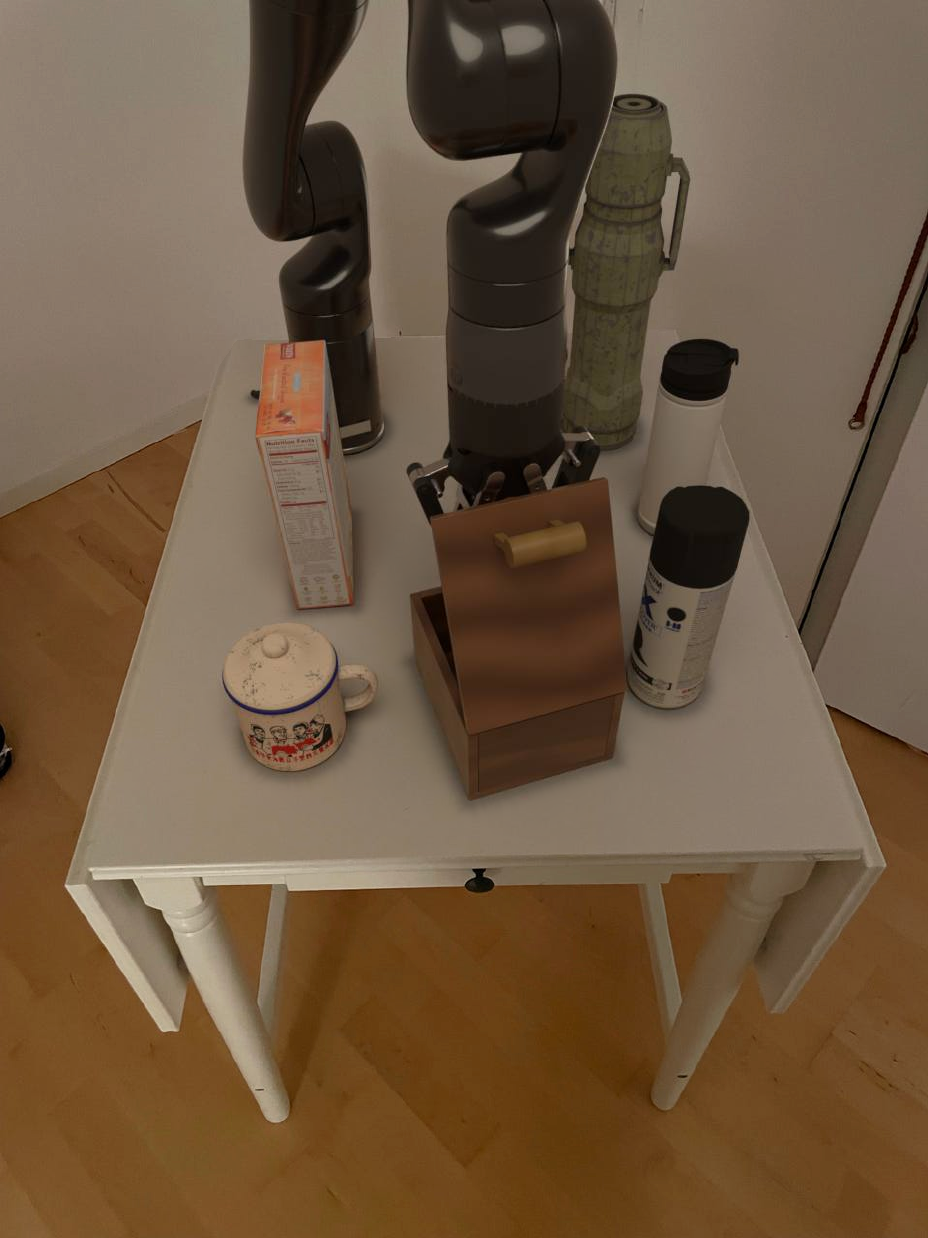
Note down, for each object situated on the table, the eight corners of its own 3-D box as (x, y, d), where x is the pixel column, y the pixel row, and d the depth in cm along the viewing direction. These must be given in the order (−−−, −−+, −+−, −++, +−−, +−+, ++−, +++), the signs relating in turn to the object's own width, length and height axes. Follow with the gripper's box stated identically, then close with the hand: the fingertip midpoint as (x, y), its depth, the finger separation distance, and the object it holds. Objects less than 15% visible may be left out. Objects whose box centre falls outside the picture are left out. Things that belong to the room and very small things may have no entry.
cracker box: (297, 517, 97) (261, 340, 82) (353, 513, 98) (329, 336, 82) (292, 612, 88) (251, 432, 73) (355, 608, 88) (327, 427, 73)
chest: (415, 661, 84) (409, 593, 77) (543, 627, 86) (548, 559, 80) (469, 801, 73) (467, 737, 67) (612, 758, 76) (624, 692, 70)
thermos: (547, 405, 111) (566, 85, 85) (646, 407, 110) (695, 86, 84) (547, 449, 105) (567, 119, 79) (651, 452, 104) (705, 120, 78)
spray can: (623, 652, 84) (653, 479, 69) (697, 653, 84) (743, 480, 69) (629, 710, 79) (663, 539, 65) (708, 711, 79) (760, 539, 64)
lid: (429, 516, 61) (450, 536, 56) (603, 476, 63) (638, 492, 58) (466, 730, 67) (488, 765, 62) (623, 686, 70) (655, 717, 65)
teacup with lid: (242, 783, 75) (211, 695, 66) (243, 696, 81) (215, 605, 73) (388, 763, 76) (376, 674, 68) (378, 679, 82) (366, 587, 74)
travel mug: (699, 544, 94) (740, 372, 79) (634, 536, 95) (662, 365, 80) (701, 505, 98) (740, 335, 83) (639, 497, 99) (666, 328, 84)
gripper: (586, 317, 62) (569, 511, 74) (381, 356, 59) (400, 552, 71) (634, 374, 57) (608, 572, 69) (414, 420, 54) (427, 618, 66)
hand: (502, 561), depth 70 cm, fingers closed on block, 4 cm apart
